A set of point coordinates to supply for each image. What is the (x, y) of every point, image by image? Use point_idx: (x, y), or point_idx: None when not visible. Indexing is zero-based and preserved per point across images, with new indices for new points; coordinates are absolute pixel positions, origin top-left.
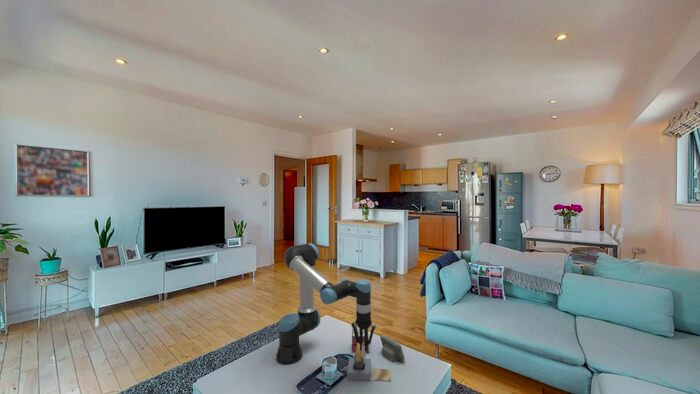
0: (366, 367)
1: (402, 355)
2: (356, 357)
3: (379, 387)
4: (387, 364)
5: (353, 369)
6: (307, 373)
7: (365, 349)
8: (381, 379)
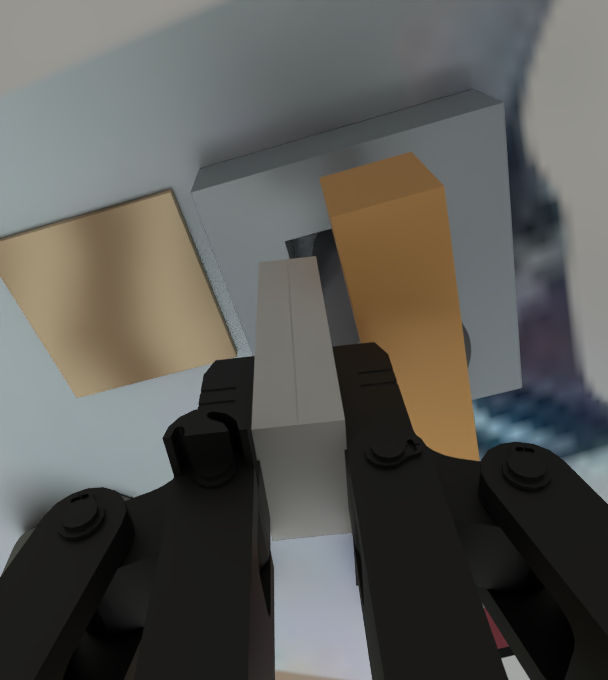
0: None
1: (4, 570)
2: (413, 176)
3: (51, 95)
4: (141, 455)
5: None
6: None
7: (243, 379)
8: (84, 227)
